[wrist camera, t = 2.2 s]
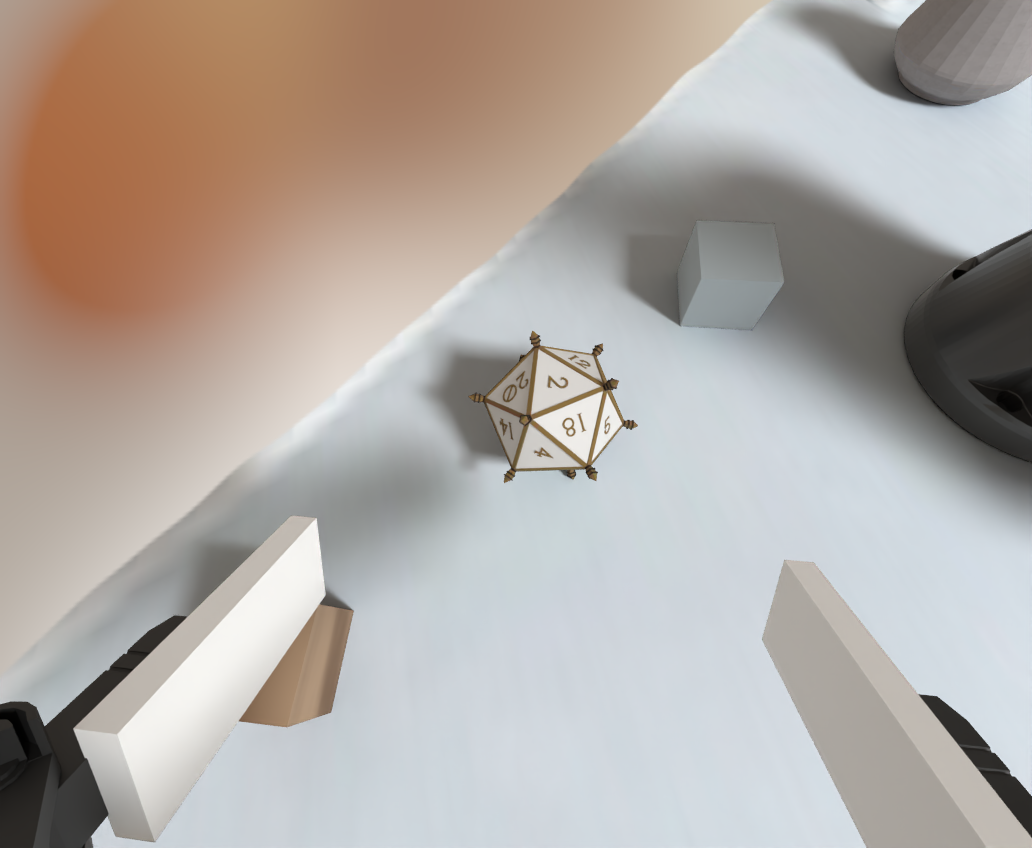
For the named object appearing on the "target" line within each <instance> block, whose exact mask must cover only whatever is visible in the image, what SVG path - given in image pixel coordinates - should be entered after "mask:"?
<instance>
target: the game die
mask: <svg viewBox="0 0 1032 848" xmlns="http://www.w3.org/2000/svg"><path fill="white" fill-rule="evenodd" d="M539 337H540V336H539V335H537V334H536V333H535V332H534V331H533V330H532V334H531V337H530V340H531V344H533V346H534V347H533V348H532V349H531V350H530V351H529V352H528V353H527V354H526V355H521V356H520V359H519V362H518V363H517V364H516V365H515V366H514V367H513V368H512V369H511V370H510V371H509V372H508V373H507V374H506V375H505V376H504V378H503V379H502V380H501V381H500V382H499V383H498V384H497V385H496V386H495V387H494V388H493V389H492V390H491V391H490V392H489V393H488V394H487V395H486V396H482V395H481V394H476V393H475V394H473V395H471V396H468V397H469V398H470V399H472V400H473V401H474V402H478V403H479V402H484V404H485V406H486V408H487V411H488V413H489V416H490V418H491V420H492V423H493V425H494V428H495V430H496V432H497V435H498V437H499V440H500V442H501V444H502V447H503V449H504V452H505V454H506V456H507V459H508V461H509V464H510V466H511V469H510V470H509V471H507V473H506V474H504V475H505V478H504V483H505V482H508V481H510V480H512V478H513V477H515V476H514V475H515V472H516V471H546V470H567V473H568V475H567V476H569V477H570V478H572V479H574V477H575V476H576V472H575V470H578V469H586V474H587V475H588V477H589V479H593V480H595V481H596V478H597V473H598V472H596V471H595V468H593V467H591V465H592V464H593V463H594V462H595V460H596V459H597V458H598V457H599V455H600V454H601V453H602V451H603V450H604V449H605V448H606V446H607V445H608V444H609V443H610V441H611V440H612V439H613V438H614V436H615V435H616V434H617V433H618V431H619V430H620V429H621V428H622V427H623V426H624V427H626V428H627V429H628V428H629V429H631V430H632V428H635V427H637V426H638V425H637V424H636V423H635V422H634V420H632V421H630V420H627V421H624V419H623V417H622V415H621V413H620V410H619V408H618V406H617V403H616V401H615V399H614V396H613V394H612V392H611V390H613V389H617V384H618V382H619V381H618V380H614V379H613V378H611V379H610V380H608V381H607V380H606V378H605V375H604V373H603V371H602V368H601V366H600V364H599V361H598V359H597V356H598V355H600V354H601V352H602V351H603V343H602V344H600V345H597V346H596V345H595V348H594V349H593V353H592V354H589V353H583V352H577V351H570V350H564V349H558V348H552V347H545V346H540V341H541V340H540V339H539Z"/></svg>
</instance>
